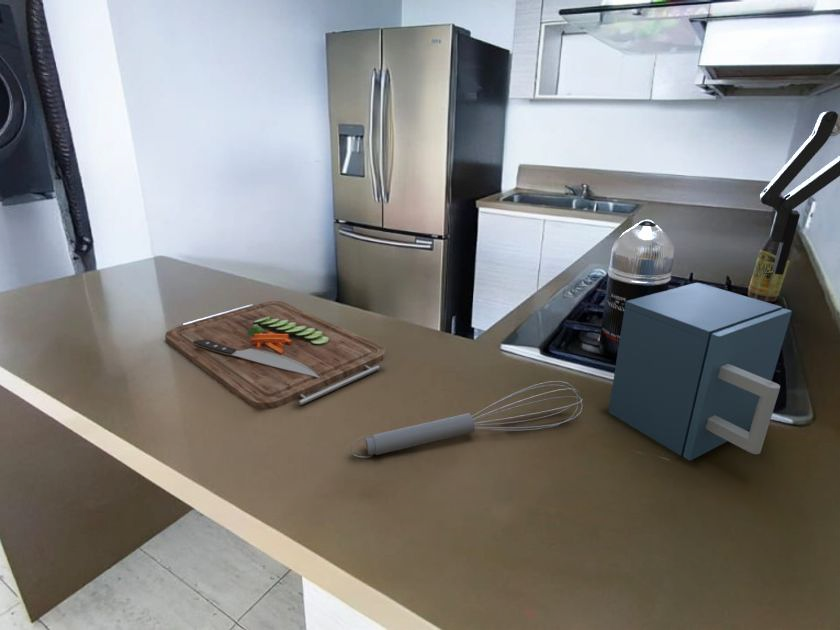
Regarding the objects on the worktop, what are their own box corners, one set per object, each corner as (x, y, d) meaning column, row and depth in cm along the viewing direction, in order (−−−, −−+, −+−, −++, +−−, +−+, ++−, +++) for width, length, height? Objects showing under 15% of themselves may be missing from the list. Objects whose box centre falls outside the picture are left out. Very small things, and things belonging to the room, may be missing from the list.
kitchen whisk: (347, 444, 69) (345, 405, 66) (565, 407, 78) (570, 371, 75) (354, 473, 63) (352, 431, 61) (588, 429, 72) (594, 391, 70)
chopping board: (402, 361, 92) (402, 345, 91) (271, 421, 74) (268, 403, 73) (272, 301, 121) (271, 289, 120) (156, 335, 103) (153, 321, 102)
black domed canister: (635, 371, 88) (660, 229, 78) (585, 350, 95) (603, 219, 86) (666, 355, 93) (693, 221, 84) (617, 337, 101) (637, 212, 91)
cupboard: (749, 421, 73) (782, 306, 67) (680, 456, 66) (709, 331, 59) (675, 385, 83) (697, 282, 76) (607, 412, 76) (625, 301, 69)
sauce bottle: (740, 295, 123) (760, 214, 116) (762, 293, 124) (784, 212, 117) (761, 304, 117) (784, 219, 110) (785, 302, 118) (809, 218, 111)
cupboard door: (807, 448, 67) (849, 327, 61) (738, 490, 60) (777, 357, 53) (751, 421, 73) (784, 308, 67) (682, 456, 66) (711, 333, 59)
